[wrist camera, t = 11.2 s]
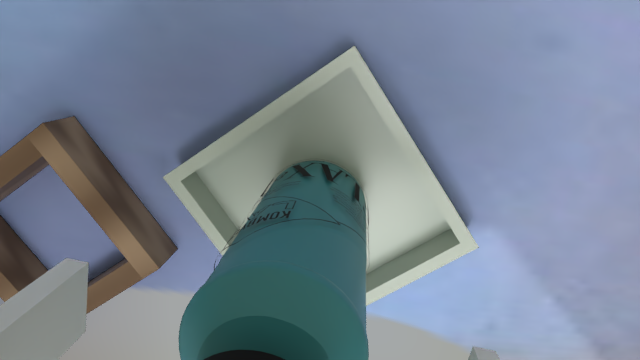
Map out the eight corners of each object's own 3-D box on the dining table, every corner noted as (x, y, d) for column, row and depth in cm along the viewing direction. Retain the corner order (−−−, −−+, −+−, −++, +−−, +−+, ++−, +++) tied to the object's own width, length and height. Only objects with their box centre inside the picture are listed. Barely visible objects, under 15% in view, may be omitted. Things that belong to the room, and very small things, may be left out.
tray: (182, 165, 29) (162, 177, 27) (355, 46, 26) (354, 45, 23) (296, 319, 32) (290, 345, 29) (467, 228, 29) (478, 247, 26)
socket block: (-35, 200, 32) (-74, 215, 29) (74, 116, 29) (42, 122, 26) (68, 318, 34) (40, 342, 31) (177, 248, 31) (159, 268, 28)
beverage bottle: (388, 195, 28) (449, 497, 9) (321, 262, 30) (252, 631, 11) (313, 129, 27) (205, 303, 8) (249, 201, 29) (36, 483, 10)
